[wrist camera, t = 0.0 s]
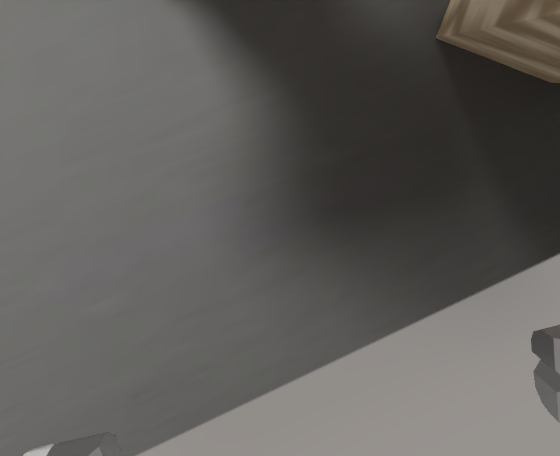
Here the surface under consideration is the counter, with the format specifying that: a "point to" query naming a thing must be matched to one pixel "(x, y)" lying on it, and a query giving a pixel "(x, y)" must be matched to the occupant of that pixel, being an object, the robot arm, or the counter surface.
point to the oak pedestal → (508, 33)
